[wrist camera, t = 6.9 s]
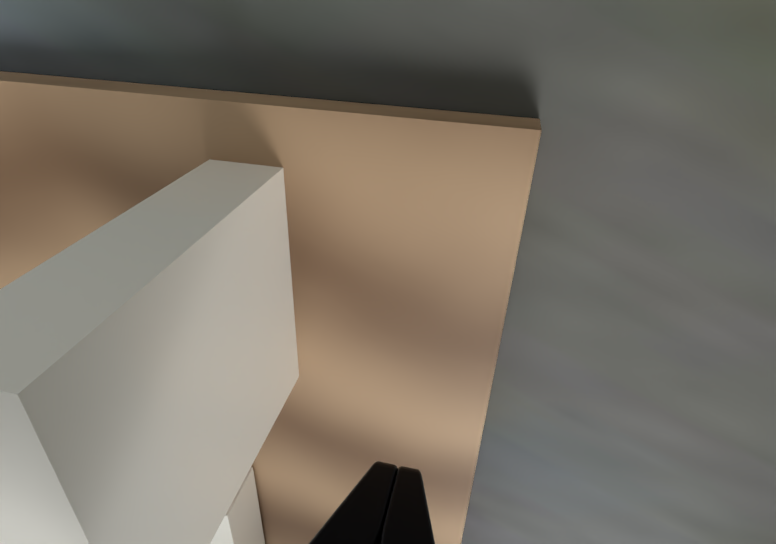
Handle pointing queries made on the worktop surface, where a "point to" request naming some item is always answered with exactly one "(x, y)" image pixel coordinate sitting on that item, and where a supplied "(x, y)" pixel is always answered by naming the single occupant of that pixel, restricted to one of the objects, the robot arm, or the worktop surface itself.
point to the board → (312, 259)
